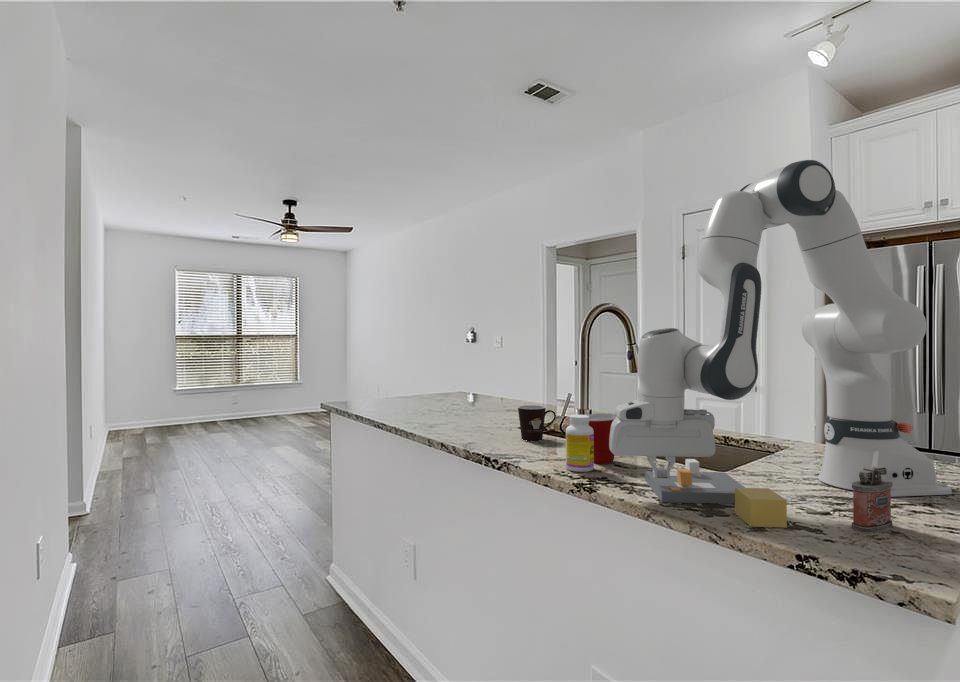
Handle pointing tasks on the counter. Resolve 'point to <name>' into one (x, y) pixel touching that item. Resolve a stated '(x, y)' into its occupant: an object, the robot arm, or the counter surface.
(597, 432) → the plastic cup
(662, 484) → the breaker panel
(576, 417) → the supplement bottle
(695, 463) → the toggle white
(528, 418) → the coffee mug
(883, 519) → the lighter
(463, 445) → the counter surface
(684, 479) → the block
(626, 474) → the counter surface
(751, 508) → the yellow block
